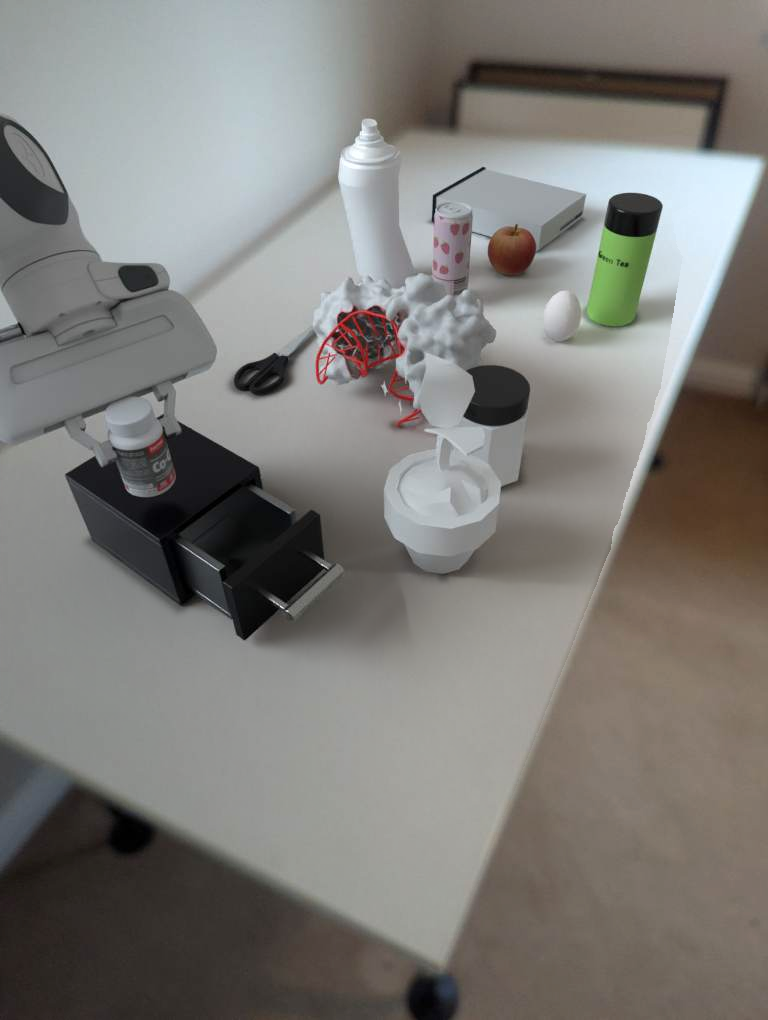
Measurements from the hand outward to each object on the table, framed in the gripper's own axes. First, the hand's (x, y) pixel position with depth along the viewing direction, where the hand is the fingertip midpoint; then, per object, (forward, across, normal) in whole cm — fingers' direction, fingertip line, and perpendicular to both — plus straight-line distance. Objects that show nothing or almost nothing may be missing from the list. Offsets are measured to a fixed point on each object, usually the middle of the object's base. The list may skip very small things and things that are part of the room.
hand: (143, 449), depth 66 cm
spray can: (-14, +54, +37) cm, 67 cm away
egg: (+7, +65, +16) cm, 67 cm away
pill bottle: (+3, 0, +4) cm, 5 cm away
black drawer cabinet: (+9, +2, +15) cm, 17 cm away
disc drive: (-17, +88, +41) cm, 99 cm away
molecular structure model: (+5, +37, +19) cm, 42 cm away
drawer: (+16, +5, +6) cm, 18 cm away
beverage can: (-6, +59, +29) cm, 66 cm away
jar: (+17, +36, +6) cm, 41 cm away
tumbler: (+7, +76, +16) cm, 78 cm away
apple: (-7, +74, +30) cm, 80 cm away
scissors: (-8, +30, +31) cm, 44 cm away
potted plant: (+23, +23, +1) cm, 32 cm away
